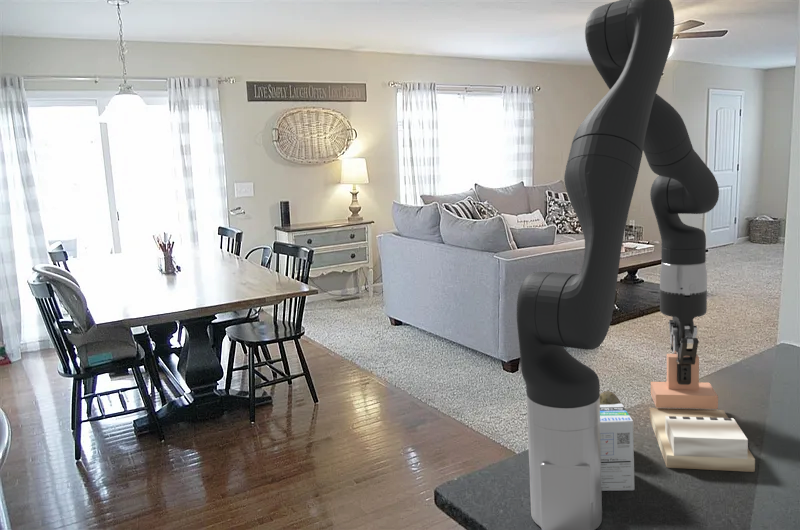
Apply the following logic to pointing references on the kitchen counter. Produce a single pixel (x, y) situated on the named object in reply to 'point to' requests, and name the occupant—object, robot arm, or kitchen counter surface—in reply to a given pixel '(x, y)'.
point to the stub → (683, 389)
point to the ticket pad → (689, 460)
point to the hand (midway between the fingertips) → (682, 380)
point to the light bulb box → (616, 448)
